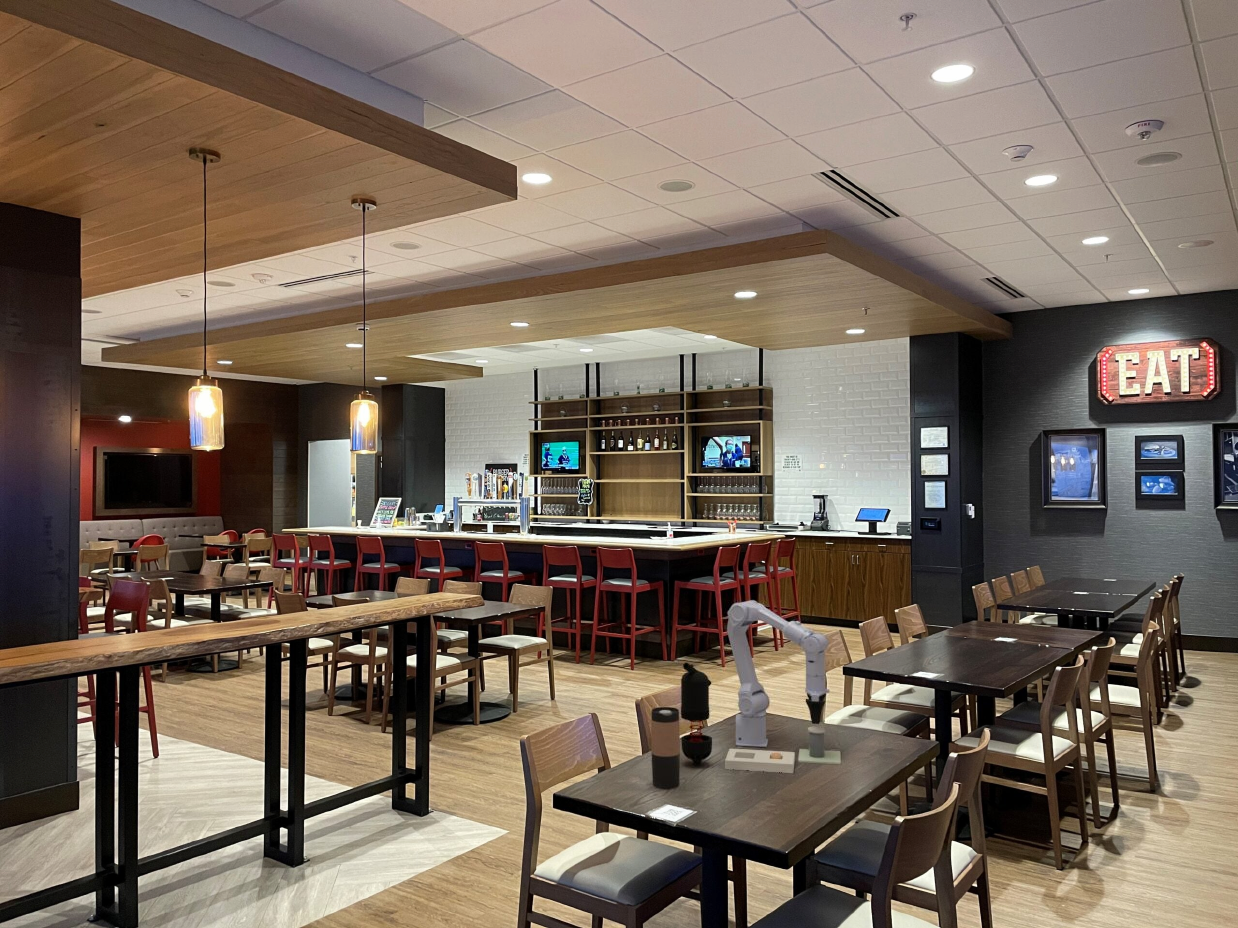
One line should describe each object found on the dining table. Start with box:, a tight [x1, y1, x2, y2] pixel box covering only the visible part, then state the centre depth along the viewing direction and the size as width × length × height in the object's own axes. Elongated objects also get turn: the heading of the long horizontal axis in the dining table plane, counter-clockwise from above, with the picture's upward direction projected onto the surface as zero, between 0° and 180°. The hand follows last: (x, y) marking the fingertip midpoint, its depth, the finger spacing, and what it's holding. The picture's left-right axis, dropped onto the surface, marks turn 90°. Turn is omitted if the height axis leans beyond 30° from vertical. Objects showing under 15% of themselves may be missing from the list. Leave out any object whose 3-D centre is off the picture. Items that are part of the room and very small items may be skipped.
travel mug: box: [650, 706, 681, 790], centre depth 244 cm, size 8×8×20 cm
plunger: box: [771, 753, 781, 759], centre depth 259 cm, size 3×3×2 cm
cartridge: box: [807, 725, 826, 758], centre depth 267 cm, size 5×5×8 cm
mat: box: [797, 748, 842, 766], centre depth 267 cm, size 12×12×1 cm
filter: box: [680, 662, 713, 766], centre depth 263 cm, size 14×9×30 cm
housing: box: [724, 748, 796, 774], centre depth 260 cm, size 19×12×2 cm, turn 77°
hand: (816, 720), depth 270 cm, fingers open, 7 cm apart
